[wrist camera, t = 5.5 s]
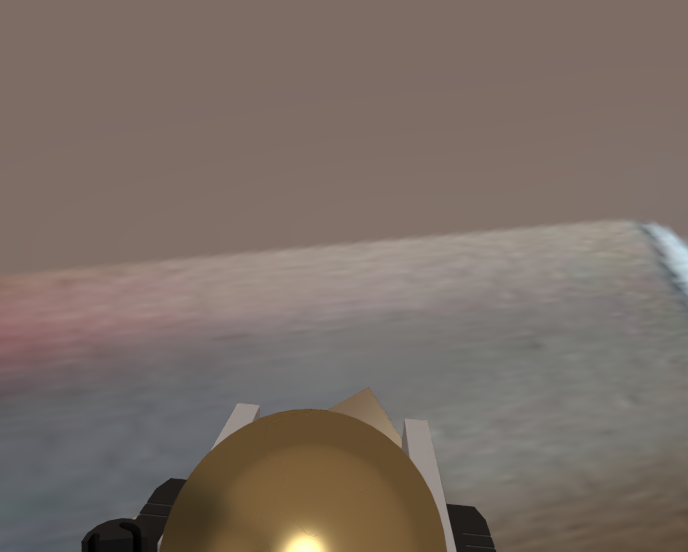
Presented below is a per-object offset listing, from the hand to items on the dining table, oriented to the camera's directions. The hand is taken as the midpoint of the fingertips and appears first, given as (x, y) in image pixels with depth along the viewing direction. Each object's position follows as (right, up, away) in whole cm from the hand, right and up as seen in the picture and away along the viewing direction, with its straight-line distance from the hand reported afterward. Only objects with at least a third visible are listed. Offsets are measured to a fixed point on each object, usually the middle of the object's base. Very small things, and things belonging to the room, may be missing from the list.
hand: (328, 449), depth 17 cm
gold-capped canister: (0, -5, +2) cm, 6 cm away
